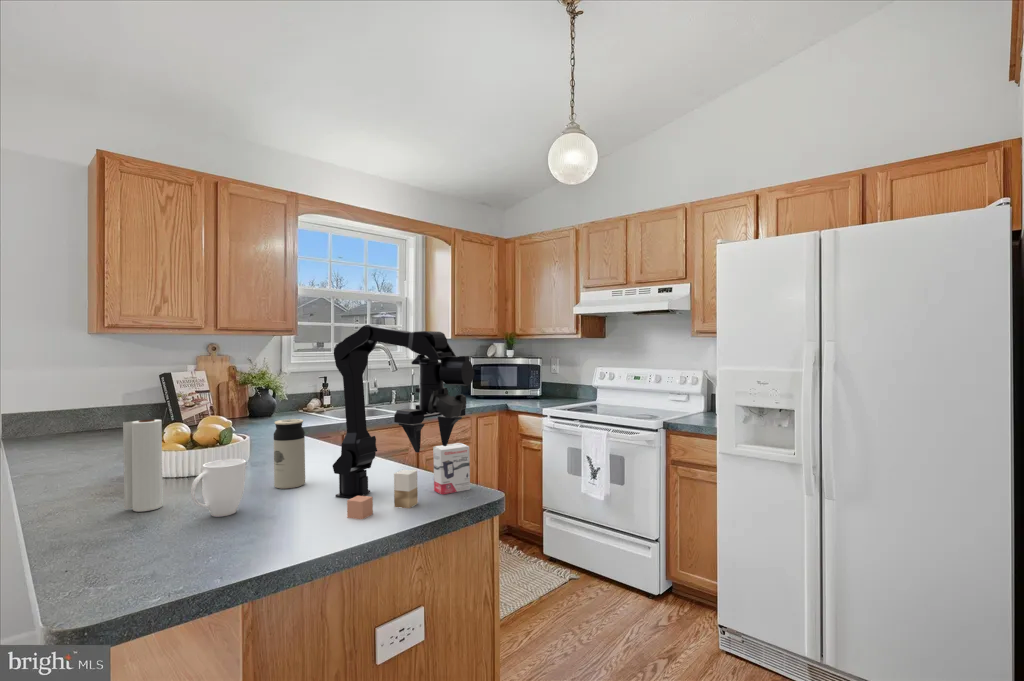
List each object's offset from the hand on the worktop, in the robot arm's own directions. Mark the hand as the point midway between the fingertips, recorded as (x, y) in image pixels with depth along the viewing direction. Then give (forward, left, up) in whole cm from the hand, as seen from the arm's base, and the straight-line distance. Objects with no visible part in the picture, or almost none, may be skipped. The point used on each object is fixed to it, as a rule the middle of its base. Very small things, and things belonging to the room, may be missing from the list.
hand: (431, 449), depth 128 cm
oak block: (-6, -1, -14) cm, 15 cm away
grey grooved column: (-66, -21, -14) cm, 71 cm away
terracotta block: (-12, -11, -14) cm, 22 cm away
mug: (-44, -20, -14) cm, 51 cm away
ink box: (-1, +14, -14) cm, 20 cm away
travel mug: (-47, +6, -14) cm, 50 cm away
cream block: (-6, -1, -10) cm, 12 cm away
